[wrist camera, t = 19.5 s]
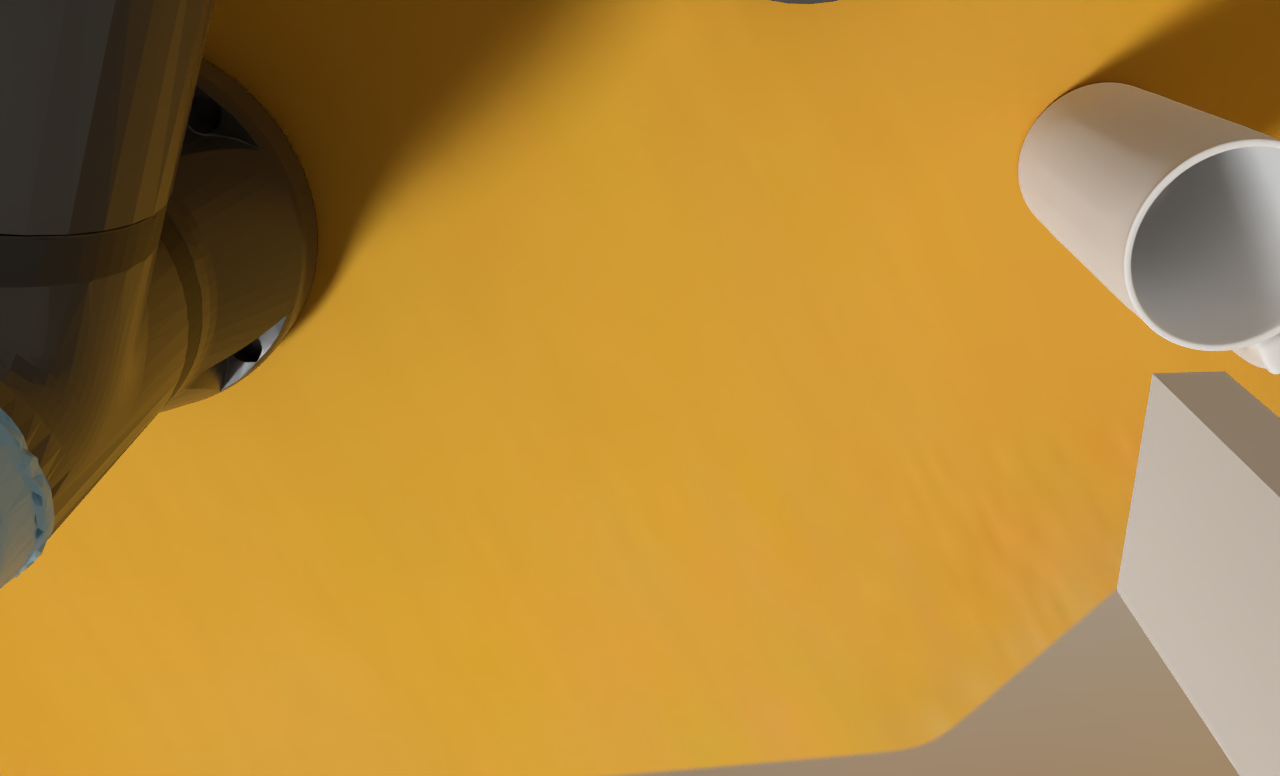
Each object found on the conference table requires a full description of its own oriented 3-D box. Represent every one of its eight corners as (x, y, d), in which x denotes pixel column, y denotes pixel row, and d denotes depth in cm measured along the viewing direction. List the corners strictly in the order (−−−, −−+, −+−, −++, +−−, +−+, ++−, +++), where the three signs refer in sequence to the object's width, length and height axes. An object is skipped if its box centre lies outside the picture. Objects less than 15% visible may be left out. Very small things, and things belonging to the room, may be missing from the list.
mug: (979, 138, 46) (1086, 222, 35) (1134, 38, 44) (1298, 92, 33) (1091, 331, 49) (1221, 462, 38) (1239, 244, 47) (1419, 355, 36)
